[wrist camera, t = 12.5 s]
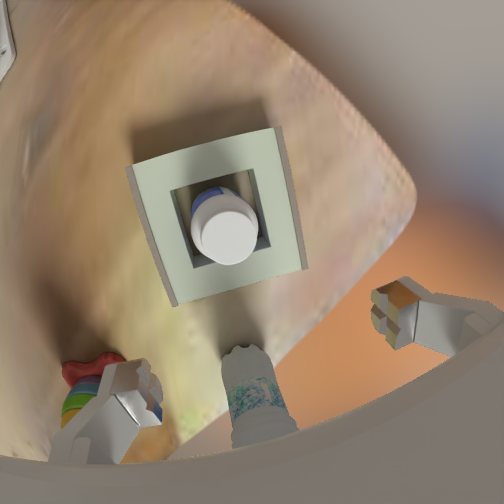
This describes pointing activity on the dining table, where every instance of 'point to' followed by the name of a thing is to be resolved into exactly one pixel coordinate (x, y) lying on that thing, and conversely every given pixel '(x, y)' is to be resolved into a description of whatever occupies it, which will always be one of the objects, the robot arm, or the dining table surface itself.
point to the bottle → (254, 397)
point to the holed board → (204, 168)
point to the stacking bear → (83, 383)
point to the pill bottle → (223, 225)
